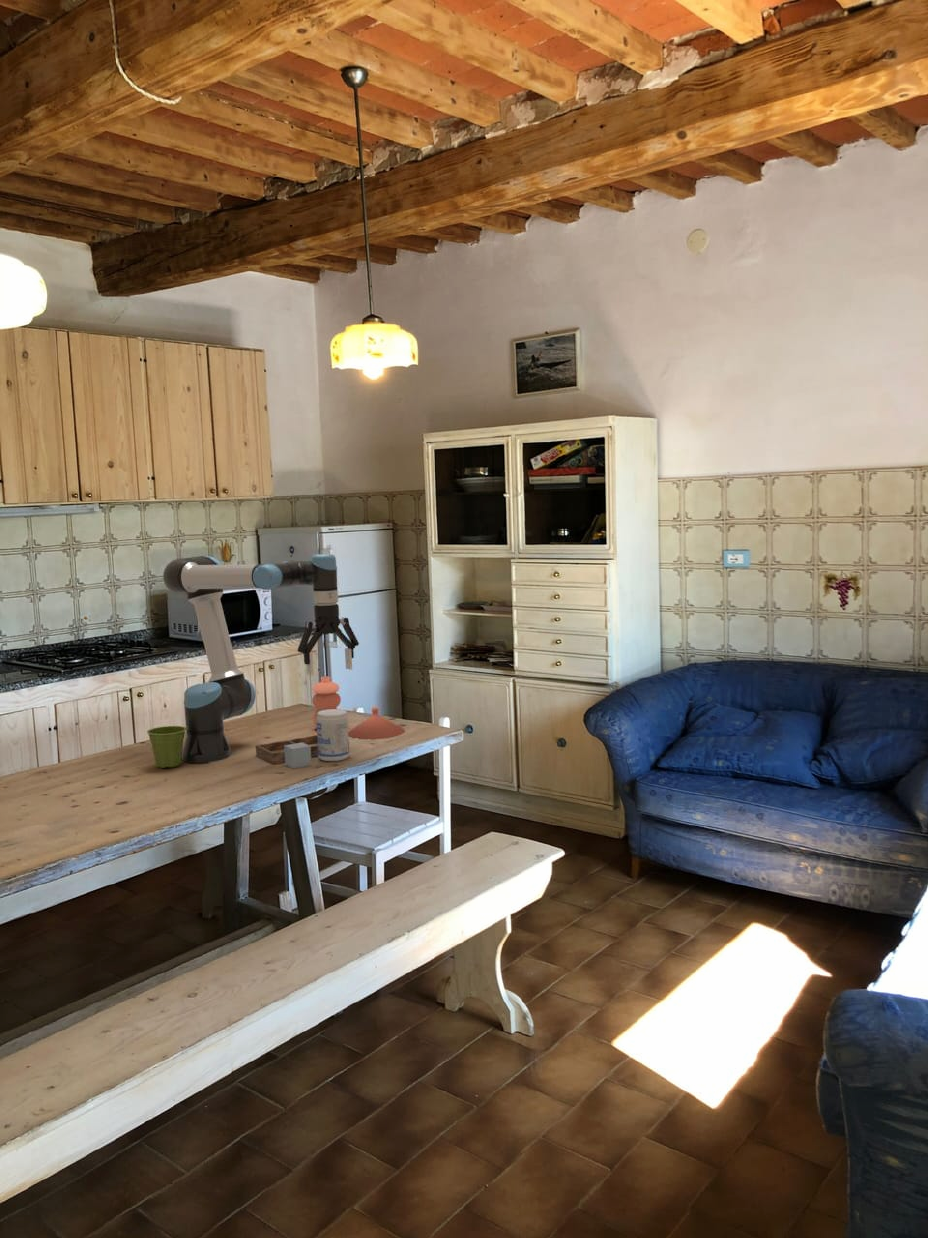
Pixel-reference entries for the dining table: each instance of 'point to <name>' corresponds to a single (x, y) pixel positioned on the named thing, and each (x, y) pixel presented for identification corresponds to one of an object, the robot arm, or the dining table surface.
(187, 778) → the dining table surface
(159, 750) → the plant pot
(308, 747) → the slate block
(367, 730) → the ceramic vessels
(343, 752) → the supplement tub
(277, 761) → the caddy
